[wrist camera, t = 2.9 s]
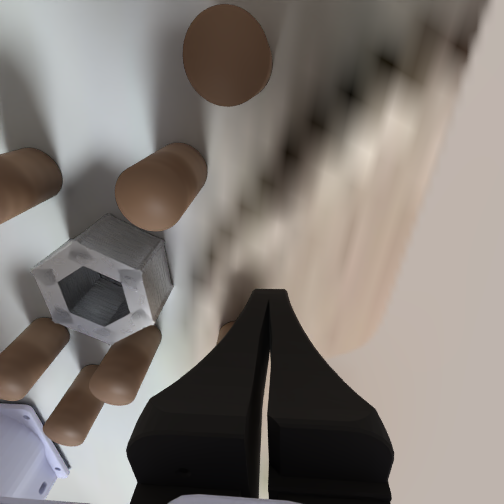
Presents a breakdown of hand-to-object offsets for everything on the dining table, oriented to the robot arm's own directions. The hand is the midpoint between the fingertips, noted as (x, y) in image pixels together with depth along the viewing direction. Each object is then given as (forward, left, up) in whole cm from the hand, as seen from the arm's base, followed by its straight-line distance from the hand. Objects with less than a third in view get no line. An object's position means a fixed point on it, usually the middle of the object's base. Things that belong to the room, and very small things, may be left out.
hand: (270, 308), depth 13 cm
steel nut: (0, +8, -4) cm, 9 cm away
